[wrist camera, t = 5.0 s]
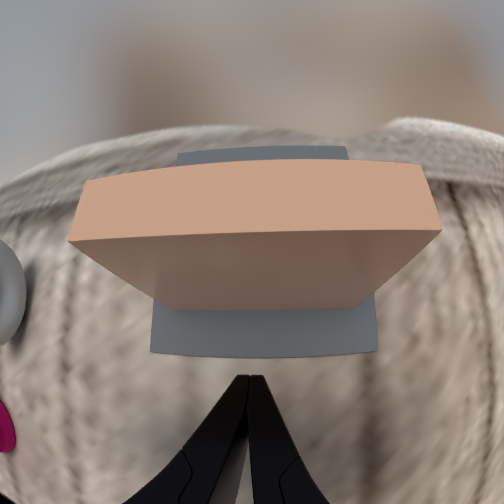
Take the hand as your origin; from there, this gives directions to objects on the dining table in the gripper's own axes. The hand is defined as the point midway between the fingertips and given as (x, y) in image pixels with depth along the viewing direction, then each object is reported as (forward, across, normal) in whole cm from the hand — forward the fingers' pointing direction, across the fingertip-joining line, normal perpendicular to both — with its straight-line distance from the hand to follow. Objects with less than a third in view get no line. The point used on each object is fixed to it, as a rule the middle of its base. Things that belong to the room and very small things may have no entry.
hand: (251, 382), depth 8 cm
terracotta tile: (+10, 0, +2) cm, 10 cm away
